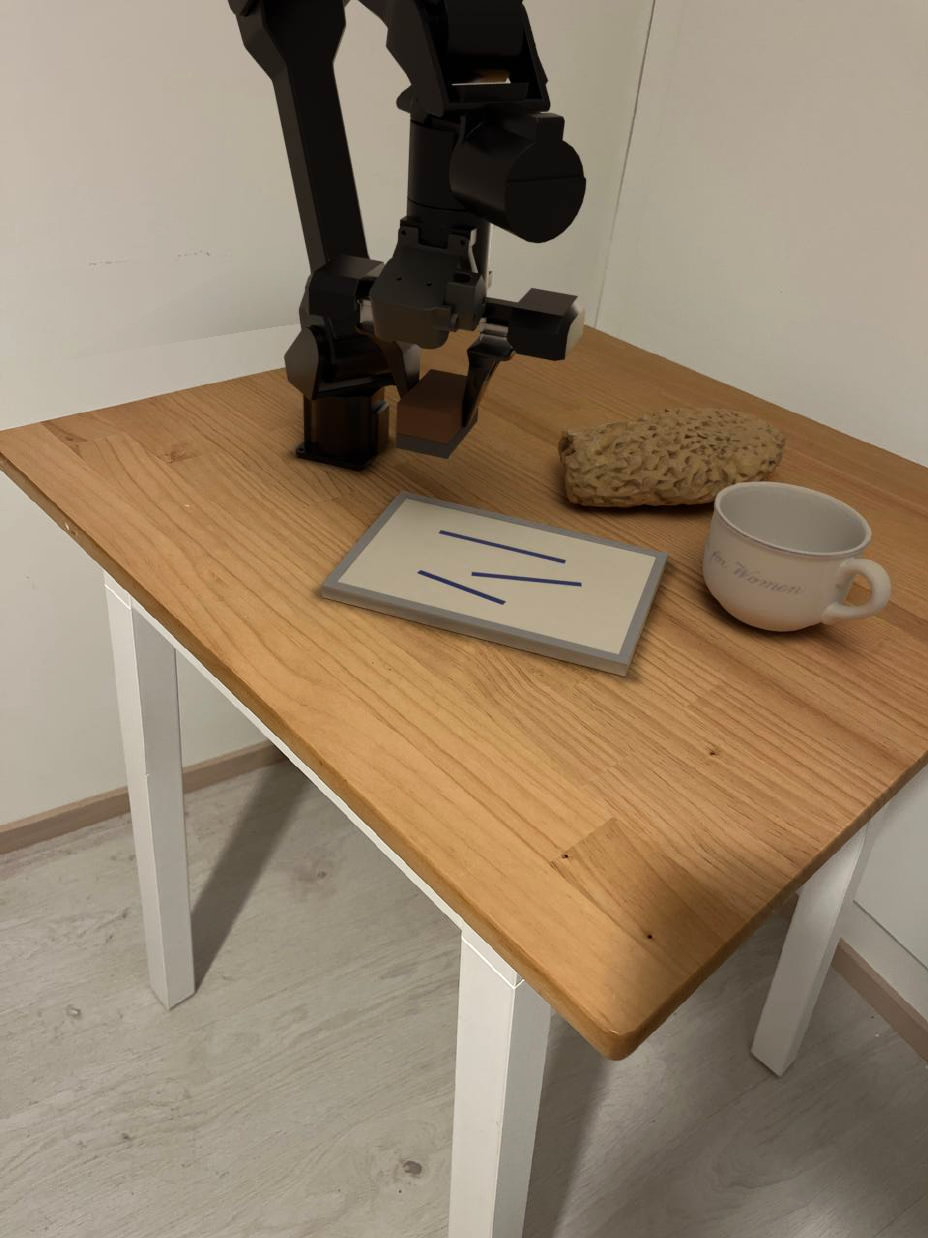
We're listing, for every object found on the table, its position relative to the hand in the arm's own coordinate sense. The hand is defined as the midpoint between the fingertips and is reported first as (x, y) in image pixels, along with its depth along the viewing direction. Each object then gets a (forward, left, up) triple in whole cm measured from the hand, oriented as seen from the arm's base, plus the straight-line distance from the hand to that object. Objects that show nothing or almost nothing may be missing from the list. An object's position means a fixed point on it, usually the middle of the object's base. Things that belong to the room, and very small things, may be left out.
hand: (437, 419), depth 79 cm
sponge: (+16, +16, -10) cm, 24 cm away
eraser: (0, 0, -1) cm, 1 cm away
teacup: (+27, 0, -10) cm, 29 cm away
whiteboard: (+7, -4, -10) cm, 13 cm away
